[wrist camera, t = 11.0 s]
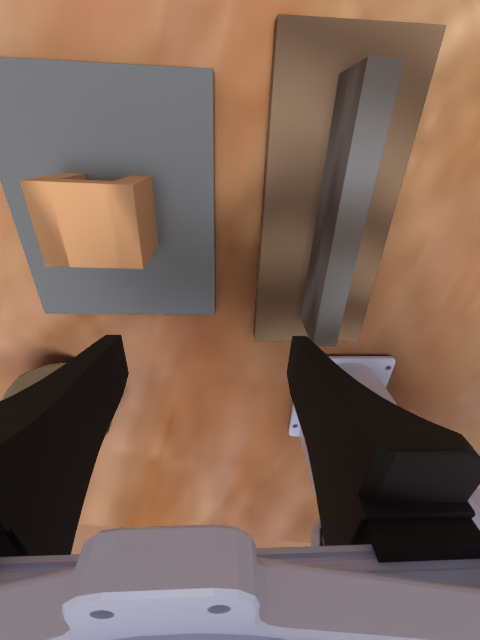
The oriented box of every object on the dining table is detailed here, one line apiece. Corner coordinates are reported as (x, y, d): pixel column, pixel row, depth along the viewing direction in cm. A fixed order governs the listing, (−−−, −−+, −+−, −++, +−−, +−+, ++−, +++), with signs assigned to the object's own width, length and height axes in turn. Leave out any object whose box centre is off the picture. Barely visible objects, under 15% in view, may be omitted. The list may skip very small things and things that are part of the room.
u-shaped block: (158, 245, 19) (143, 268, 16) (79, 242, 19) (45, 266, 15) (151, 176, 17) (132, 184, 14) (63, 172, 17) (19, 180, 13)
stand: (352, 334, 24) (377, 370, 20) (253, 333, 24) (259, 370, 20) (433, 31, 15) (506, -7, 11) (274, 21, 15) (293, -23, 11)
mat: (215, 310, 22) (214, 314, 22) (49, 309, 22) (44, 313, 21) (213, 71, 15) (212, 68, 15) (-33, 58, 15) (-42, 54, 14)
